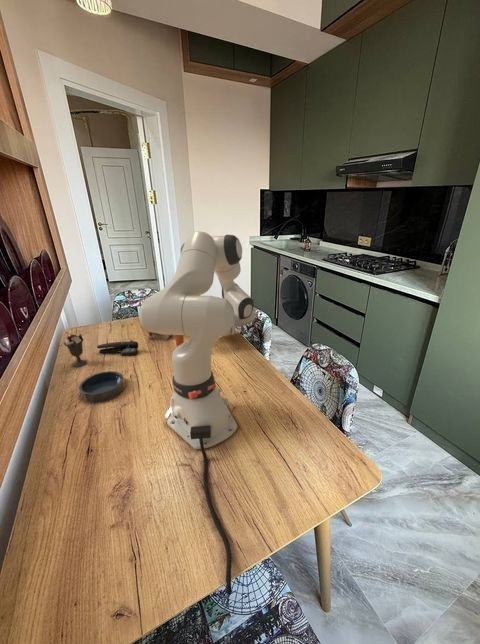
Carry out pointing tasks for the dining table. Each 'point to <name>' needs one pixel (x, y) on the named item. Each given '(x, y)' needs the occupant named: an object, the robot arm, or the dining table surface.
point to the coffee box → (157, 336)
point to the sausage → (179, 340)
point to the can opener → (120, 347)
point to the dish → (102, 386)
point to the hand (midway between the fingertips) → (198, 328)
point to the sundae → (75, 348)
